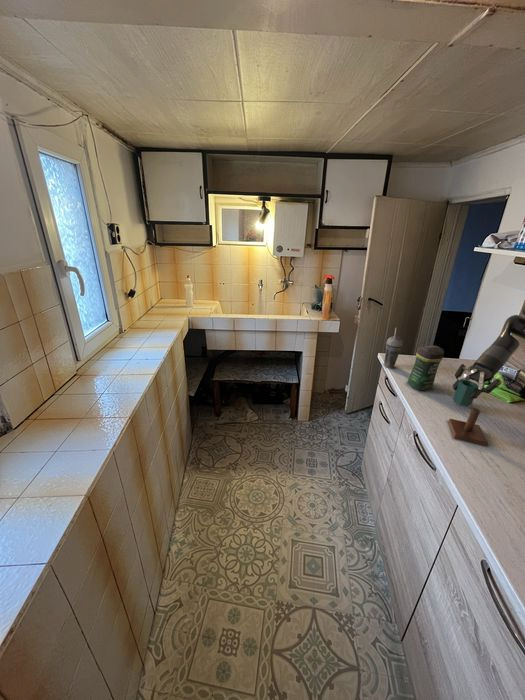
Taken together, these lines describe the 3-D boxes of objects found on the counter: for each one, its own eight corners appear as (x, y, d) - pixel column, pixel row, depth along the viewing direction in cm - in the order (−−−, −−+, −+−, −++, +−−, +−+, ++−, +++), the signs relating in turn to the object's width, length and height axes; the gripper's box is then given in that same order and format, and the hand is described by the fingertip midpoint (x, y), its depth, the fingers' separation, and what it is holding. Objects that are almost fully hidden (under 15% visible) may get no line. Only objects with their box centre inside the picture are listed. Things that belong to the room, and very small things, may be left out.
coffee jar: (417, 392, 116) (430, 352, 108) (403, 383, 123) (415, 344, 115) (435, 389, 119) (449, 350, 111) (421, 380, 126) (433, 342, 118)
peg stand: (477, 428, 97) (488, 405, 93) (486, 446, 89) (497, 422, 85) (448, 421, 100) (456, 399, 96) (454, 438, 92) (463, 414, 88)
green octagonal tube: (468, 399, 110) (475, 381, 107) (472, 407, 105) (480, 389, 102) (451, 396, 112) (458, 378, 108) (454, 403, 107) (461, 385, 103)
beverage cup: (399, 369, 134) (410, 330, 126) (384, 369, 134) (394, 330, 126) (392, 362, 141) (402, 325, 132) (378, 362, 141) (387, 324, 132)
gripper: (515, 373, 102) (484, 408, 102) (474, 357, 114) (446, 388, 114) (513, 362, 98) (481, 399, 98) (470, 347, 109) (441, 379, 110)
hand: (462, 393), depth 106 cm, fingers closed on green octagonal tube, 6 cm apart
